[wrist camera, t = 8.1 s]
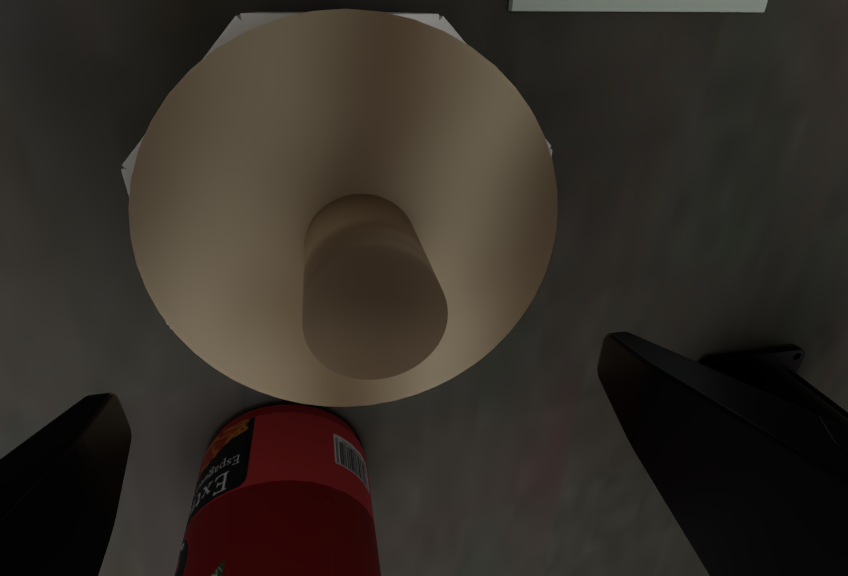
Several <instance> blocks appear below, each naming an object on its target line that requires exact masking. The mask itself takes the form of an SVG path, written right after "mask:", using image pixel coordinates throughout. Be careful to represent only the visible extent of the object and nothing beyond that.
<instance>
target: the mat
mask: <svg viewBox="0 0 848 576" xmlns="http://www.w3.org/2000/svg"><path fill="white" fill-rule="evenodd" d="M767 1H768V0H509V6H508V11H614V12H764V11H765V8H766V5H767Z"/></svg>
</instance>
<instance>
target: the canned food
mask: <svg viewBox="0 0 848 576" xmlns="http://www.w3.org/2000/svg"><path fill="white" fill-rule="evenodd" d="M175 576H381V572H380V564H379V557H378V549H377V541H376V533H375V525H374V518H373V510H372V502H371V494H370V486H369V479H368V471H367V463H366V458H365V453H364V450H363V448H362V446H361V444H360V443H359V441H358V439H357V437H356V435H355V433H354V432H353V430H352V429H351V428H350V427H349V426H348V425H347V424H346V423H345V422H344V421H342V420H341V419H339V418H338V417H337V416H335V415H333V414H331V413H329V412H326V411H324V410H321V409H318V408H314V407H311V406H304V405H296V404H282V405H273V406H267V407H262V408H258V409H255V410H252V411H249V412H247V413H245V414H243V415H241V416H239V417H237V418H235V419H234V420H232V421H231V422H230V423H229V424H227V425H226V426H225V427H224V428H223V429H222V430H221V431H220V432H219V434H218V435H217V436H216V437H215V439H214V440H213V442H212V443H211V444H210V446H209V447H208V449H207V451H206V454H205V456H204V458H203V461H202V465H201V469H200V473H199V478H198V482H197V486H196V490H195V494H194V498H193V502H192V506H191V510H190V514H189V518H188V522H187V527H186V531H185V535H184V539H183V543H182V547H181V551H180V555H179V559H178V563H177V567H176V572H175Z"/></svg>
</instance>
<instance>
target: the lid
mask: <svg viewBox="0 0 848 576" xmlns="http://www.w3.org/2000/svg"><path fill="white" fill-rule="evenodd" d="M128 210H129V225H130V238H131V242H132V246H133V251H134V255H135V260H136V264H137V267H138V269H139V272H140V274H141V277H142V280H143V282H144V285H145V287H146V290H147V291H148V293H149V295H150V297H151V299H152V300H153V302H154V304H155V306H156V307H157V309H158V311H159V313H160V314H161V315H162V317H163V318H164V319H165V321H166V322H167V323H168V325H169V326H170V327H171V329H172V330H173V331H174V333H175V334H176V335H177V336H178V337H179V338H180V339H181V340H182V341H183V342H184V343H185V344H186V345H187V346H188V347H189V348H190V349H191V350H192V351H193V352H194V353H195V354H197V355H198V356H199V357H200V358H202V359H203V360H204V361H206V362H207V363H208V364H209V365H211V366H212V367H213V368H215V369H216V370H218V371H220V372H221V373H223V374H225V375H226V376H228V377H229V378H231V379H233V380H234V381H237V382H239V383H241V384H243V385H245V386H247V387H249V388H252V389H254V390H256V391H259V392H262V393H265V394H267V395H270V396H273V397H276V398H280V399H284V400H288V401H293V402H297V403H302V404H310V405H318V406H333V407H352V406H364V405H374V404H379V403H385V402H390V401H395V400H398V399H402V398H405V397H409V396H413V395H416V394H418V393H421V392H423V391H426V390H428V389H431V388H434V387H436V386H438V385H440V384H442V383H444V382H446V381H448V380H450V379H452V378H454V377H456V376H457V375H459V374H460V373H462V372H463V371H465V370H466V369H468V368H469V367H471V366H473V365H474V364H475V363H477V362H478V361H479V360H480V359H482V358H483V357H484V356H485V355H487V354H488V353H489V352H490V351H492V350H493V349H494V348H495V347H496V346H497V345H498V344H499V343H500V342H501V341H502V340H503V339H504V338H505V337H506V336H507V335H508V333H509V332H510V331H511V330H512V328H513V327H514V326H515V325H516V323H517V322H518V321H519V320H520V319H521V317H522V316H523V314H524V313H525V311H526V309H527V308H528V306H529V305H530V303H531V302H532V300H533V299H534V297H535V294H536V292H537V290H538V288H539V286H540V284H541V282H542V280H543V278H544V275H545V272H546V270H547V267H548V264H549V261H550V258H551V255H552V250H553V245H554V240H555V236H556V228H557V216H558V197H557V182H556V177H555V172H554V167H553V161H552V157H551V154H550V152H549V149H548V146H547V143H546V140H545V137H544V134H543V132H542V130H541V128H540V126H539V124H538V122H537V120H536V118H535V116H534V114H533V112H532V110H531V109H530V107H529V106H528V104H527V103H526V102H525V100H524V99H523V97H522V96H521V94H520V93H519V92H518V90H517V89H516V87H515V86H514V85H513V84H512V83H511V82H510V81H509V80H508V79H507V78H506V77H505V76H504V75H503V73H502V72H501V71H500V70H499V69H498V68H497V67H496V66H495V65H494V64H492V63H491V62H490V61H489V60H487V59H486V58H485V57H484V56H482V55H481V54H480V53H478V52H477V51H476V50H475V49H473V48H472V47H471V46H469V45H467V44H465V43H464V42H462V41H460V40H459V39H457V38H455V37H453V36H452V35H450V34H448V33H446V32H445V31H442V30H440V29H437V28H435V27H432V26H430V25H427V24H425V23H422V22H420V21H417V20H414V19H411V18H406V17H402V16H398V15H393V14H389V13H385V12H380V11H367V10H355V9H334V10H319V11H310V12H305V13H301V14H296V15H292V16H287V17H283V18H279V19H276V20H274V21H271V22H269V23H266V24H264V25H261V26H258V27H256V28H253V29H251V30H248V31H246V32H244V33H242V34H241V35H239V36H237V37H235V38H234V39H232V40H230V41H228V42H227V43H225V44H223V45H222V46H220V47H218V48H216V49H215V50H214V51H213V52H211V53H210V54H209V55H208V56H206V57H205V58H204V59H203V60H201V61H200V62H199V63H198V64H197V65H195V66H194V67H193V68H192V69H190V70H189V72H188V73H187V74H186V75H185V76H184V77H183V78H182V79H181V80H180V82H179V83H178V84H177V85H176V86H175V87H174V88H173V89H172V90H171V92H170V93H169V94H168V95H167V97H166V98H165V100H164V101H163V103H162V105H161V106H160V108H159V109H158V111H157V112H156V114H155V115H154V117H153V119H152V120H151V122H150V124H149V126H148V129H147V131H146V133H145V136H144V138H143V140H142V143H141V145H140V147H139V150H138V153H137V157H136V161H135V165H134V169H133V173H132V177H131V184H130V196H129V207H128Z"/></svg>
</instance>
